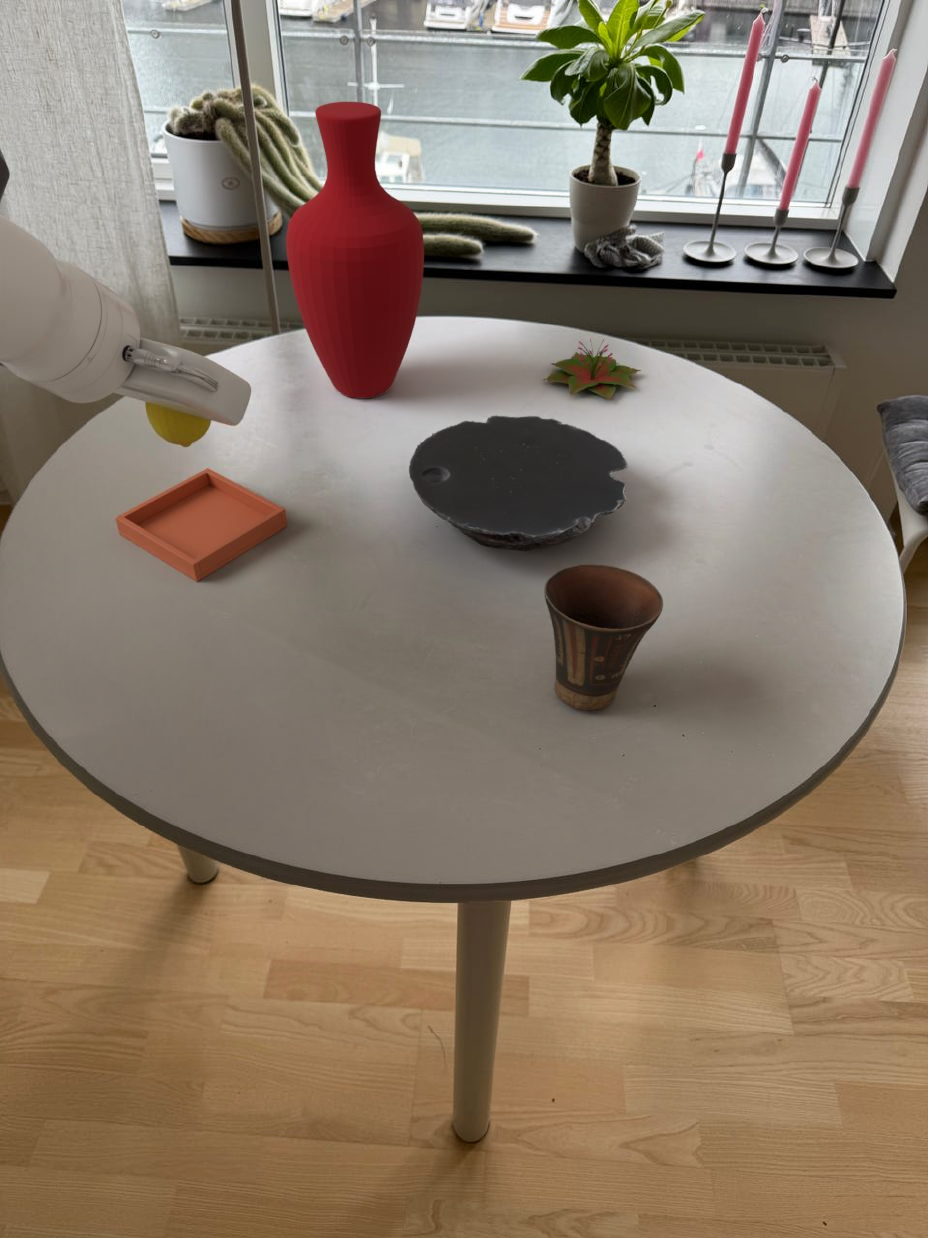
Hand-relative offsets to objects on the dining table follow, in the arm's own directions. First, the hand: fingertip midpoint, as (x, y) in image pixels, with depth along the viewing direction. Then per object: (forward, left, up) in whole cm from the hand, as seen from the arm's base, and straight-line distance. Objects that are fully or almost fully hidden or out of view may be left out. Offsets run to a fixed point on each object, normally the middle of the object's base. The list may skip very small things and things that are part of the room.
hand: (181, 399), depth 84 cm
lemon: (-1, 0, -5) cm, 5 cm away
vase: (+30, +8, -14) cm, 34 cm away
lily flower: (+49, -12, -14) cm, 53 cm away
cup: (+5, -40, -14) cm, 43 cm away
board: (+21, -21, -14) cm, 33 cm away
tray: (-1, 0, -13) cm, 14 cm away
